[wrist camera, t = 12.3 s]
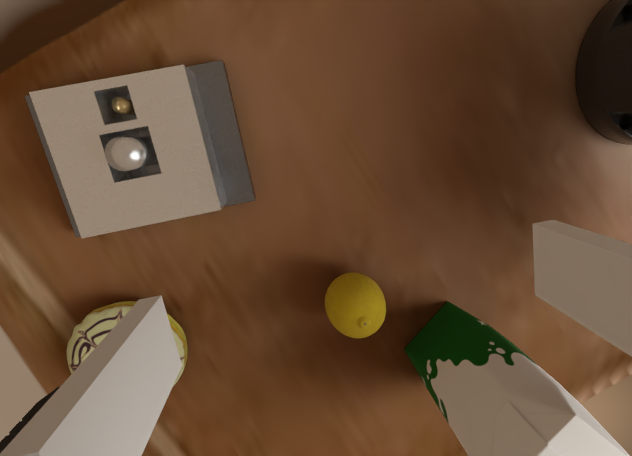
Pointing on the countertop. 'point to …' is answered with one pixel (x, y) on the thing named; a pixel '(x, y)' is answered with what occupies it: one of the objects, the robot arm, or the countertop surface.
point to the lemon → (355, 305)
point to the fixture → (139, 148)
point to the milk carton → (500, 393)
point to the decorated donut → (102, 323)
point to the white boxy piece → (105, 124)
